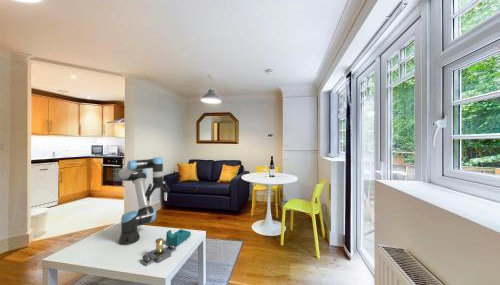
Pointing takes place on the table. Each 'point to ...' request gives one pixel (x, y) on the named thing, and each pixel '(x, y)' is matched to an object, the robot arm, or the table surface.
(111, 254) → the table surface
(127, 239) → the robot arm
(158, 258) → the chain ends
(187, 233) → the teal notched block
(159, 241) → the pin
